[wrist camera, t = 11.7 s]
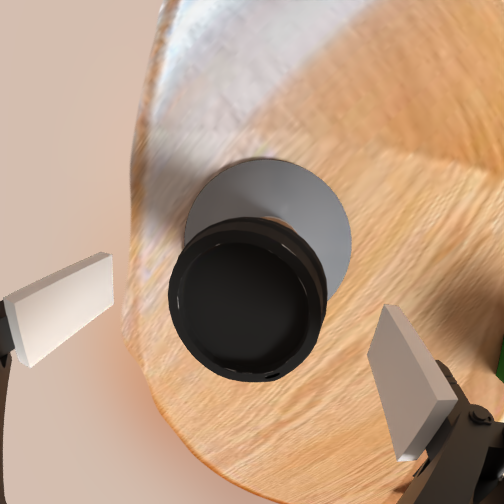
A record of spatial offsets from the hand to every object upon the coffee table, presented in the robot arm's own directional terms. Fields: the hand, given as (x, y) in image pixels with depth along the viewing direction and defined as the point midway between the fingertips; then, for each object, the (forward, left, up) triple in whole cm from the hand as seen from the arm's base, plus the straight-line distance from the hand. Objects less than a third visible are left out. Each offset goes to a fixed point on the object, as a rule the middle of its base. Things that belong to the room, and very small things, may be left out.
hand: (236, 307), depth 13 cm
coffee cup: (0, 0, -15) cm, 15 cm away
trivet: (0, 0, -16) cm, 16 cm away
